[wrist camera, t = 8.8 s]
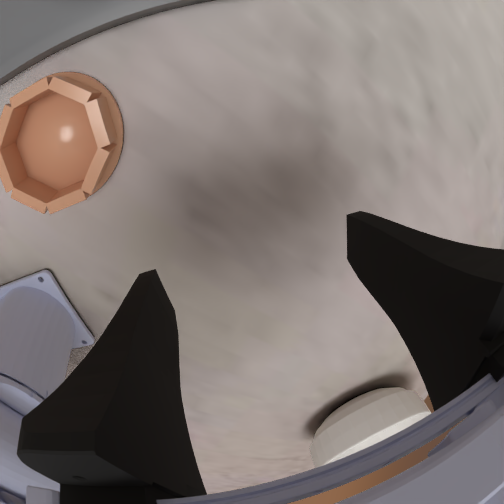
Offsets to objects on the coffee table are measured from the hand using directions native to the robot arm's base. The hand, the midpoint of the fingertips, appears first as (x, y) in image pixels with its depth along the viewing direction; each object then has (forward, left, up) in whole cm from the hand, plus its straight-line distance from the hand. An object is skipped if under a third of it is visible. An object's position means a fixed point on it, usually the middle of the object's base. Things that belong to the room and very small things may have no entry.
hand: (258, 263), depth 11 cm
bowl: (+12, -41, -10) cm, 44 cm away
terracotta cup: (-9, +6, -9) cm, 14 cm away
